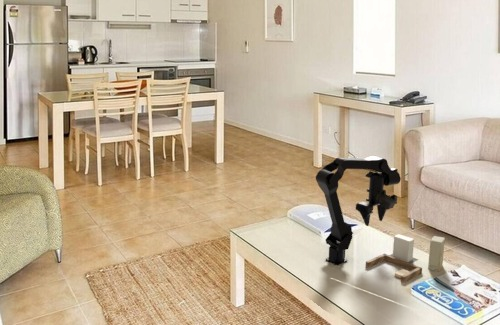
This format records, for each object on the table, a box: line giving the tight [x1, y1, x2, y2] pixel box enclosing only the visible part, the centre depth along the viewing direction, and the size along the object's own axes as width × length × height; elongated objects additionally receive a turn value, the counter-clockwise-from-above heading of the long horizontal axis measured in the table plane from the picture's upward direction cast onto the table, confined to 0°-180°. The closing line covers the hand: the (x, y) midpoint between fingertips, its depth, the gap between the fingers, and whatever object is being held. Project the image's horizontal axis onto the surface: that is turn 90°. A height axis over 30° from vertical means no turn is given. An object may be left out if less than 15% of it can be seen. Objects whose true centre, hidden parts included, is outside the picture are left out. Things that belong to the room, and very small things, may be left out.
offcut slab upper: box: [393, 268, 411, 279], centre depth 193 cm, size 6×4×1 cm, turn 132°
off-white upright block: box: [392, 233, 415, 262], centre depth 206 cm, size 4×7×9 cm, turn 40°
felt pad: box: [388, 253, 419, 264], centre depth 208 cm, size 8×10×1 cm
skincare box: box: [427, 235, 446, 272], centre depth 199 cm, size 6×4×12 cm
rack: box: [365, 253, 423, 283], centre depth 197 cm, size 12×17×2 cm
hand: (373, 223), depth 211 cm, fingers open, 9 cm apart
